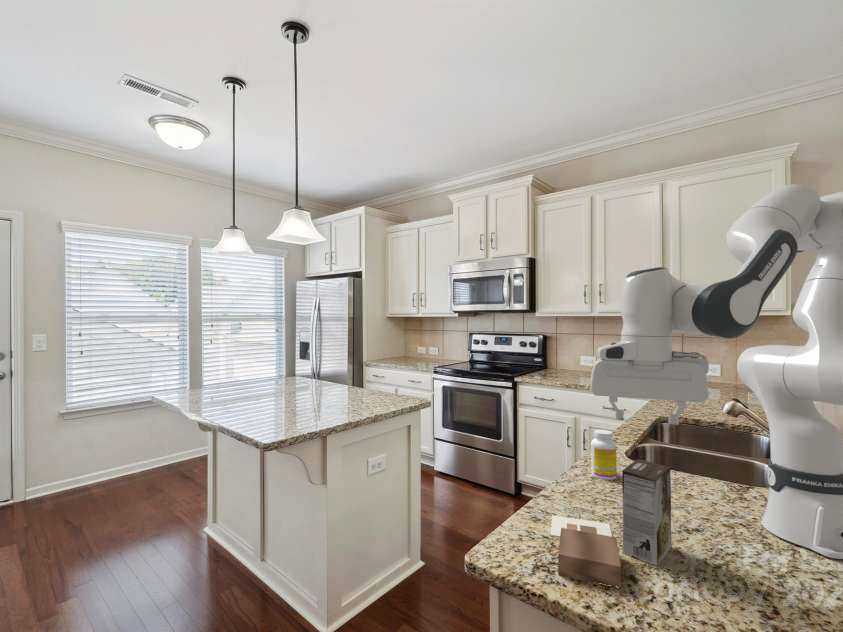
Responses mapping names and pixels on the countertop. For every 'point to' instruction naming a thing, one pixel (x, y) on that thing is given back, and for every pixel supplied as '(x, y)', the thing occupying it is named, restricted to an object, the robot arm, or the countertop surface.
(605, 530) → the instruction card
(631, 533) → the coffee box
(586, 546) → the base block
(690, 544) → the countertop surface
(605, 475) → the supplement bottle
